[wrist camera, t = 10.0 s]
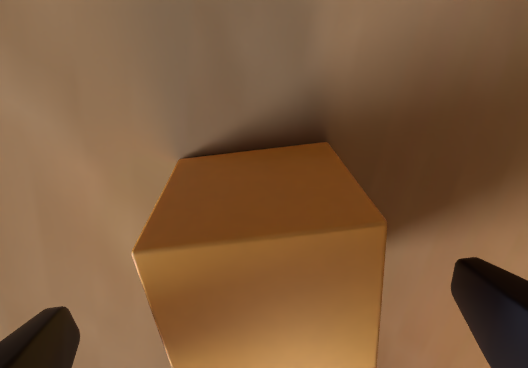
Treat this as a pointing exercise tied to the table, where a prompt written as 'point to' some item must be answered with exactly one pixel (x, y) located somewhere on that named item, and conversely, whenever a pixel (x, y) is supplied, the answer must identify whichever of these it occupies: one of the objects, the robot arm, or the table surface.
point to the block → (265, 262)
